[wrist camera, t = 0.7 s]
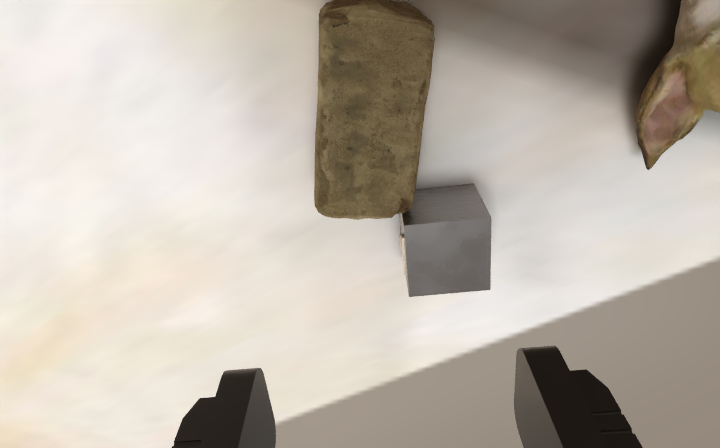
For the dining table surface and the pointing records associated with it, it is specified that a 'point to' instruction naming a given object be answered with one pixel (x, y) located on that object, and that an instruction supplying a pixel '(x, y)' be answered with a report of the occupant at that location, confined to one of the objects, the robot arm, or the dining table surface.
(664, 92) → the ceramic sculpture
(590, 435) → the robot arm
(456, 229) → the charcoal block
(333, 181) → the stone block
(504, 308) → the dining table surface
